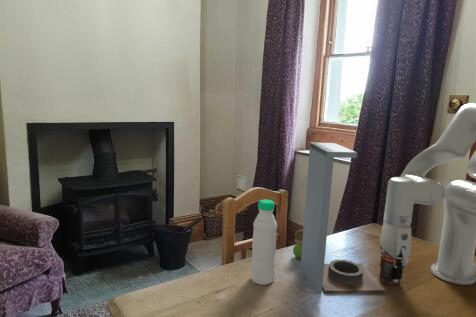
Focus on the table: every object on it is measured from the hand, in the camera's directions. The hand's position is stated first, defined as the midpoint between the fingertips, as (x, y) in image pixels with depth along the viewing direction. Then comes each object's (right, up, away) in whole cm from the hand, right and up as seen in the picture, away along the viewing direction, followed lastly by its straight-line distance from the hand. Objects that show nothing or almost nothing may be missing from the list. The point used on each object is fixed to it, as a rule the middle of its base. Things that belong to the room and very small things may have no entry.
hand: (390, 272), depth 109 cm
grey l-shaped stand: (-22, -2, 0) cm, 22 cm away
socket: (-14, -2, 0) cm, 14 cm away
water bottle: (-40, -2, -2) cm, 40 cm away
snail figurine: (-25, +1, +13) cm, 28 cm away
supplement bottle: (0, -3, +1) cm, 3 cm away
